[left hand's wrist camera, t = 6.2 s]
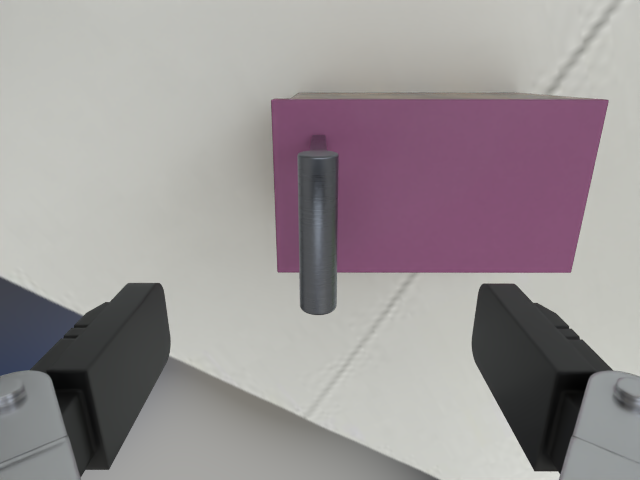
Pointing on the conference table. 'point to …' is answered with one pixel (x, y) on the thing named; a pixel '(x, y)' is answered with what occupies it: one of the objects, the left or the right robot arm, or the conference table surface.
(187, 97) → the conference table surface
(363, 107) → the lid
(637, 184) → the conference table surface
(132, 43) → the conference table surface
